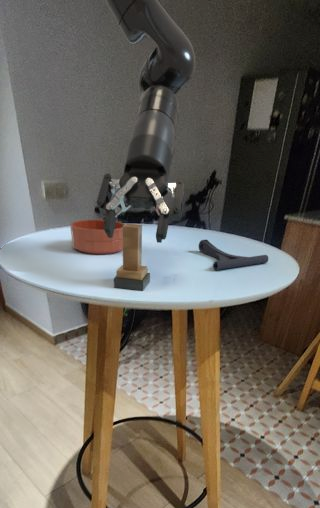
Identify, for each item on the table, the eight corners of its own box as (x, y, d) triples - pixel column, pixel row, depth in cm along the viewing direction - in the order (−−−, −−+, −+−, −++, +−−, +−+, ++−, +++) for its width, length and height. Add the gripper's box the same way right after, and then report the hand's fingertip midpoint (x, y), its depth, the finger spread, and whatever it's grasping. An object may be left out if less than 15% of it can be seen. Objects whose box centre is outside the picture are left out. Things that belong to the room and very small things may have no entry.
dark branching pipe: (223, 248, 90) (224, 236, 88) (267, 263, 80) (270, 250, 78) (175, 254, 83) (176, 241, 82) (217, 272, 73) (219, 257, 72)
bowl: (64, 251, 80) (61, 227, 77) (84, 240, 90) (82, 217, 87) (117, 257, 79) (116, 232, 76) (132, 245, 88) (132, 222, 85)
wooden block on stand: (113, 287, 63) (112, 226, 57) (122, 278, 67) (121, 221, 61) (143, 290, 62) (144, 229, 56) (150, 281, 66) (151, 224, 61)
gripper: (105, 129, 60) (85, 218, 58) (191, 134, 58) (174, 226, 56) (116, 166, 67) (98, 247, 65) (192, 171, 65) (177, 254, 63)
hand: (133, 237), depth 60 cm, fingers open, 8 cm apart
